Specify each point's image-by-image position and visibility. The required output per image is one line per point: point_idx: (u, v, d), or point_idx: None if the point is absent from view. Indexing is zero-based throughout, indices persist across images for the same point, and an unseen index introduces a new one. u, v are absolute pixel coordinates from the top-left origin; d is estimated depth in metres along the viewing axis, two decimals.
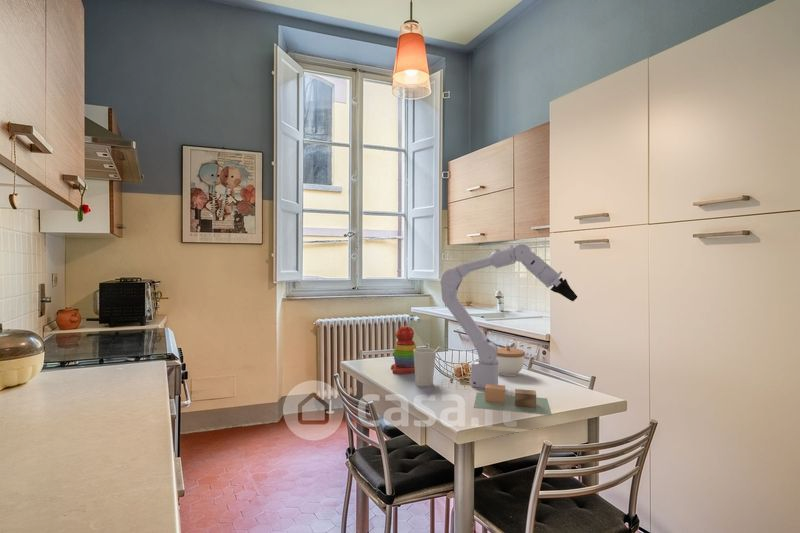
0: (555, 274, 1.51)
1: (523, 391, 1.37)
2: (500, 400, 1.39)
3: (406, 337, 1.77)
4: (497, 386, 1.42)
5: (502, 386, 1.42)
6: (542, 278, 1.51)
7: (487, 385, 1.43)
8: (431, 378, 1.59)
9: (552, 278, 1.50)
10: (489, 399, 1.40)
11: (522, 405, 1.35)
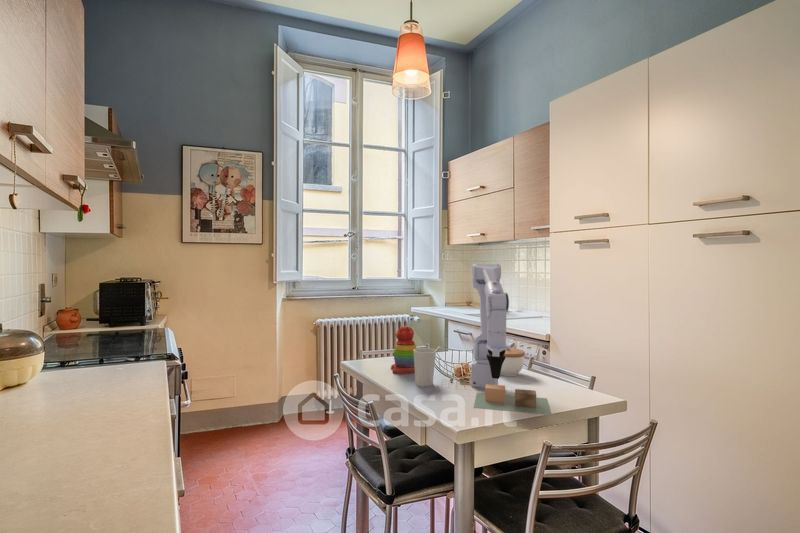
0: (502, 345, 1.39)
1: (523, 391, 1.37)
2: (500, 400, 1.39)
3: (406, 337, 1.77)
4: (497, 386, 1.42)
5: (502, 386, 1.42)
6: (490, 337, 1.40)
7: (487, 385, 1.43)
8: (431, 378, 1.59)
9: (497, 345, 1.39)
10: (489, 399, 1.40)
11: (522, 405, 1.35)
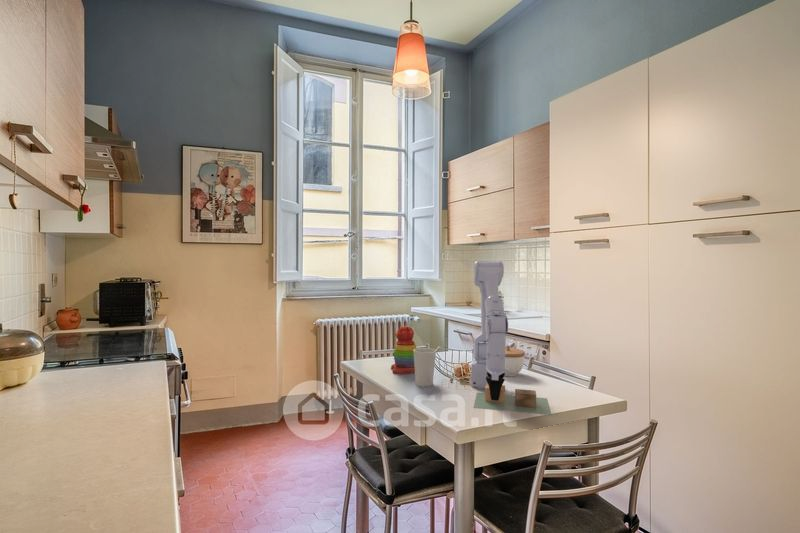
0: (501, 368, 1.39)
1: (523, 391, 1.37)
2: (500, 400, 1.39)
3: (406, 337, 1.77)
4: None
5: (502, 386, 1.42)
6: (489, 360, 1.40)
7: (487, 385, 1.43)
8: (431, 378, 1.59)
9: (496, 368, 1.39)
10: (489, 399, 1.40)
11: (522, 405, 1.35)
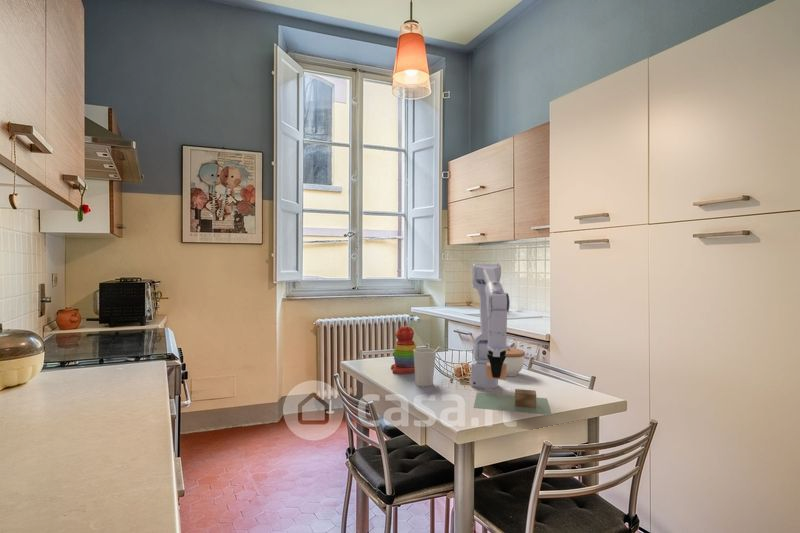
0: (503, 345, 1.39)
1: (523, 391, 1.37)
2: (501, 377, 1.39)
3: (406, 337, 1.77)
4: None
5: (503, 364, 1.42)
6: (490, 337, 1.40)
7: (488, 363, 1.43)
8: (431, 378, 1.59)
9: (497, 346, 1.39)
10: (490, 377, 1.40)
11: (522, 405, 1.35)
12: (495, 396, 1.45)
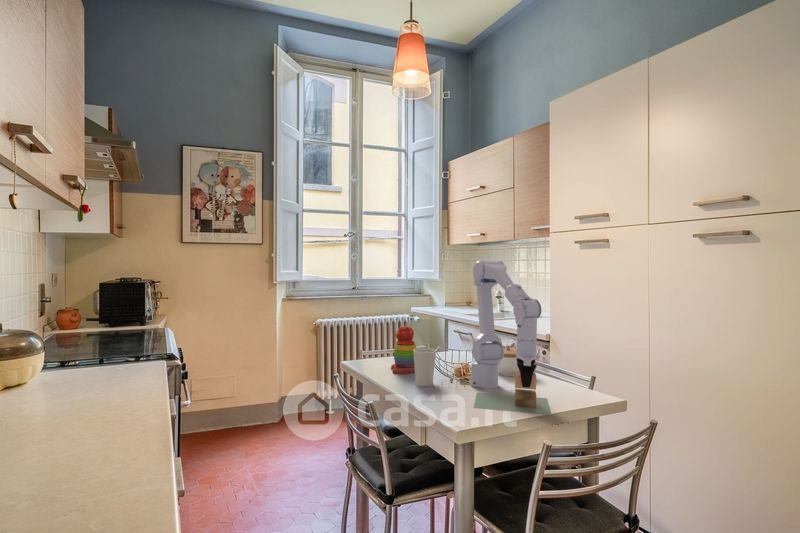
0: (533, 353, 1.34)
1: (523, 391, 1.37)
2: (531, 387, 1.34)
3: (406, 337, 1.77)
4: None
5: None
6: (520, 346, 1.35)
7: (517, 372, 1.38)
8: (431, 378, 1.59)
9: (527, 354, 1.34)
10: (519, 386, 1.35)
11: (522, 405, 1.35)
12: (495, 396, 1.45)
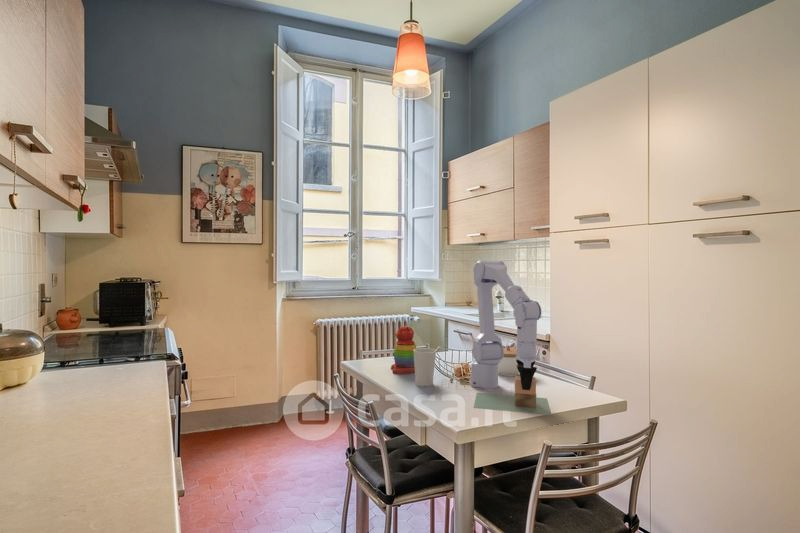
0: (533, 355, 1.34)
1: None
2: (531, 392, 1.34)
3: (406, 337, 1.77)
4: None
5: None
6: (520, 347, 1.35)
7: (516, 377, 1.38)
8: (431, 378, 1.59)
9: (527, 356, 1.34)
10: (519, 391, 1.35)
11: (522, 405, 1.35)
12: (495, 396, 1.45)
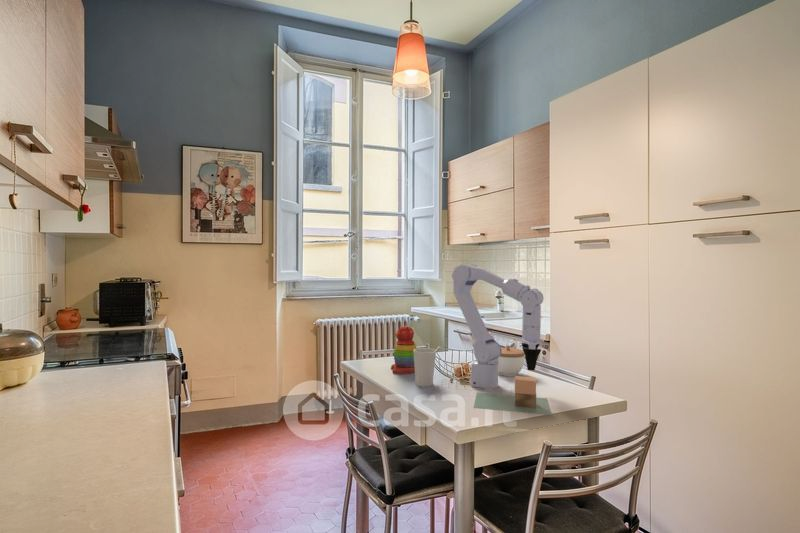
0: (537, 338, 1.46)
1: None
2: (531, 392, 1.34)
3: (406, 337, 1.77)
4: (527, 378, 1.37)
5: (532, 378, 1.37)
6: (525, 331, 1.47)
7: (516, 377, 1.38)
8: (431, 378, 1.59)
9: (532, 339, 1.46)
10: (519, 391, 1.35)
11: (522, 405, 1.35)
12: (495, 396, 1.45)
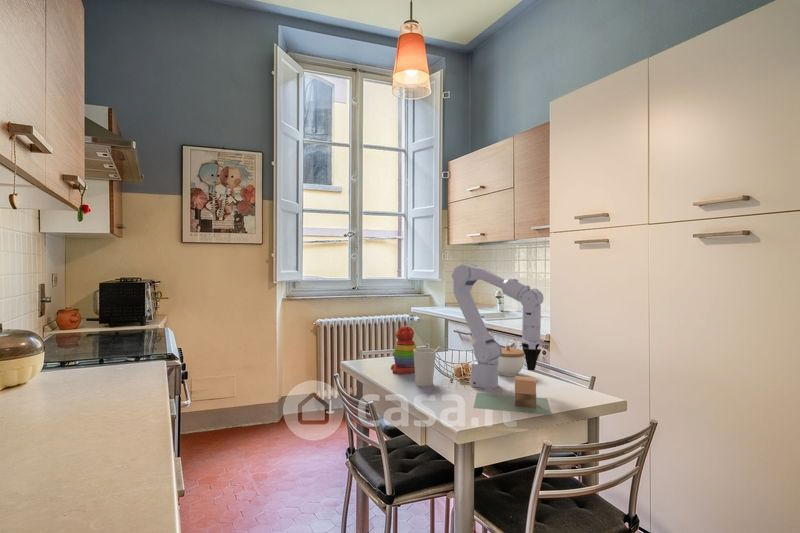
0: (537, 338, 1.46)
1: None
2: (531, 392, 1.34)
3: (406, 337, 1.77)
4: (527, 378, 1.37)
5: (532, 378, 1.37)
6: (525, 331, 1.47)
7: (516, 377, 1.38)
8: (431, 378, 1.59)
9: (532, 339, 1.46)
10: (519, 391, 1.35)
11: (522, 405, 1.35)
12: (495, 396, 1.45)
